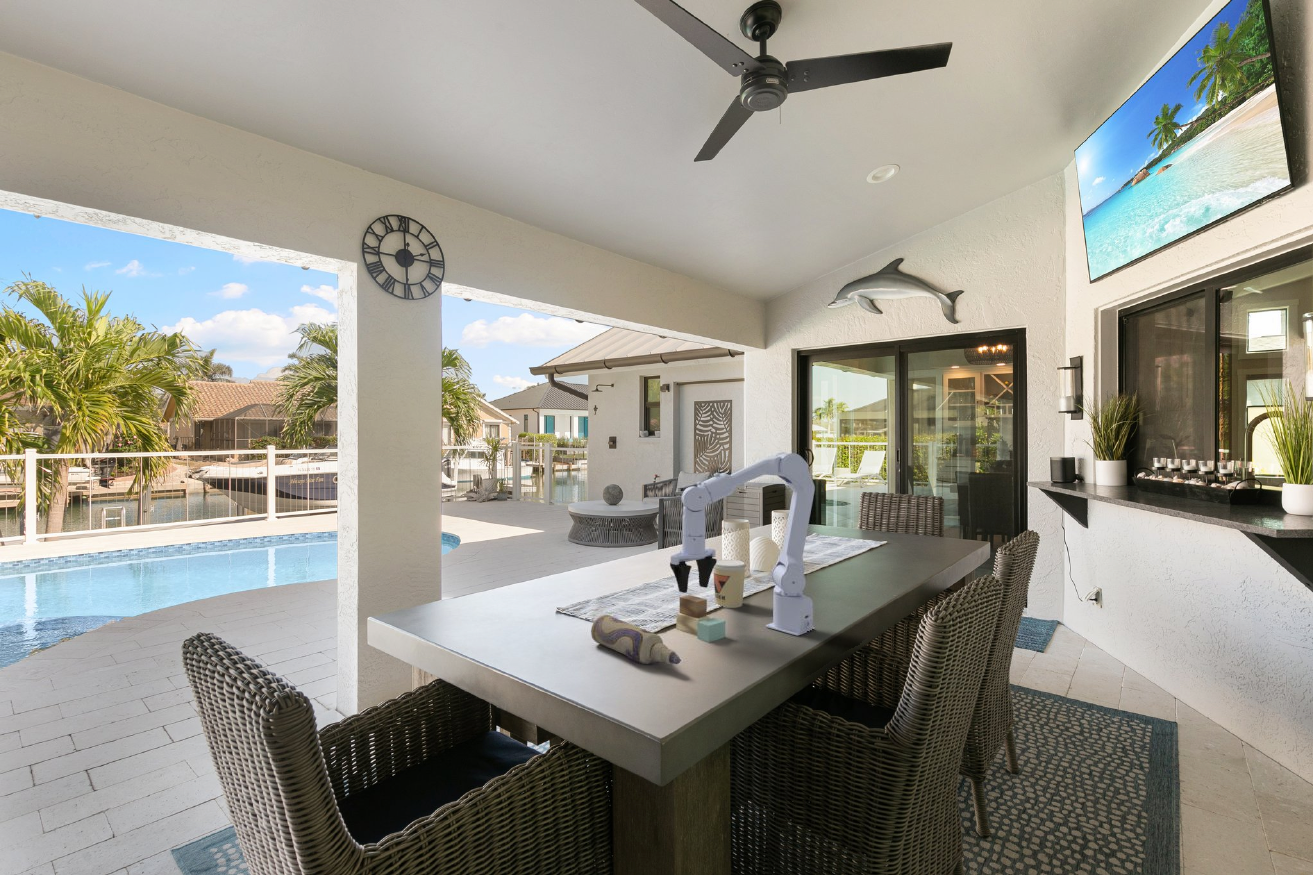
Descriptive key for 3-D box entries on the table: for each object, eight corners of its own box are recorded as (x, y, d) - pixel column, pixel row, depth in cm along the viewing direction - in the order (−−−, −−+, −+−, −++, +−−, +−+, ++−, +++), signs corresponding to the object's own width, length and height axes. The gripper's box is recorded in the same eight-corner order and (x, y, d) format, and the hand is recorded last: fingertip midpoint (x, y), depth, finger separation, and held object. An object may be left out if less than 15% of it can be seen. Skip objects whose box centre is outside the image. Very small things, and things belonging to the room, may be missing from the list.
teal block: (714, 633, 146) (714, 617, 146) (725, 637, 143) (725, 620, 143) (697, 639, 142) (697, 622, 142) (708, 643, 139) (708, 625, 139)
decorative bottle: (588, 646, 136) (588, 617, 136) (614, 639, 141) (615, 611, 141) (663, 681, 117) (664, 647, 117) (691, 672, 122) (691, 639, 122)
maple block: (709, 631, 147) (709, 615, 147) (698, 636, 144) (698, 619, 144) (688, 625, 152) (688, 610, 152) (676, 629, 149) (676, 613, 149)
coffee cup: (706, 601, 174) (707, 560, 174) (733, 598, 178) (734, 558, 178) (723, 610, 166) (723, 567, 166) (751, 606, 170) (751, 564, 170)
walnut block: (706, 615, 147) (706, 599, 147) (696, 618, 145) (697, 601, 145) (689, 610, 152) (689, 594, 152) (679, 613, 149) (679, 597, 150)
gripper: (701, 530, 157) (700, 581, 157) (661, 535, 147) (661, 591, 147) (721, 533, 152) (721, 586, 152) (682, 539, 142) (682, 596, 142)
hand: (693, 589), depth 149 cm, fingers open, 7 cm apart
